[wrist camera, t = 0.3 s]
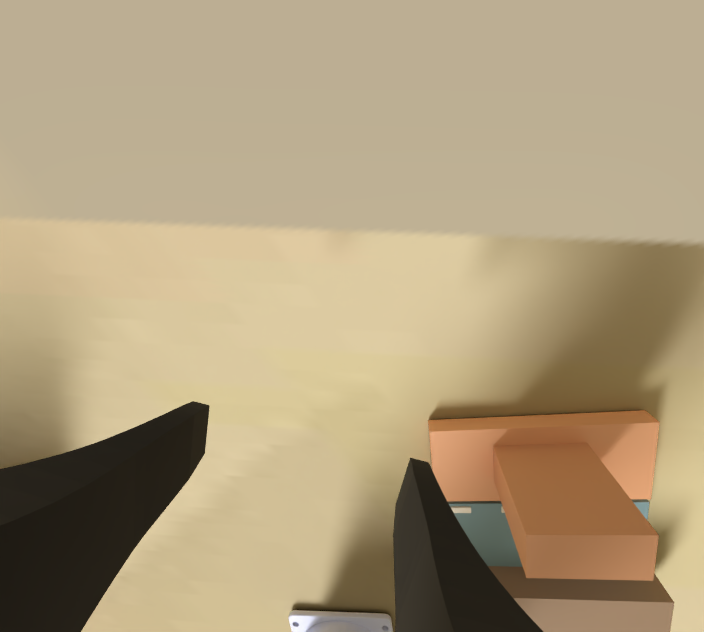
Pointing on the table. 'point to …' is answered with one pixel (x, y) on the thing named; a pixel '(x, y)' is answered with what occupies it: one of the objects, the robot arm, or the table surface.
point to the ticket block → (564, 582)
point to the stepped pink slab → (559, 487)
